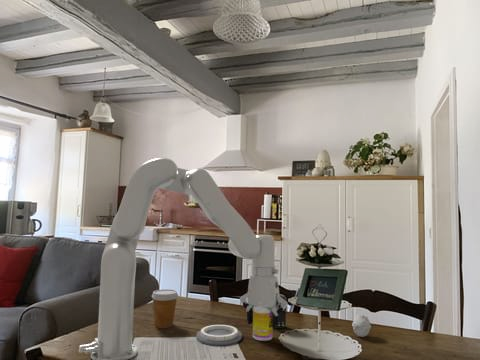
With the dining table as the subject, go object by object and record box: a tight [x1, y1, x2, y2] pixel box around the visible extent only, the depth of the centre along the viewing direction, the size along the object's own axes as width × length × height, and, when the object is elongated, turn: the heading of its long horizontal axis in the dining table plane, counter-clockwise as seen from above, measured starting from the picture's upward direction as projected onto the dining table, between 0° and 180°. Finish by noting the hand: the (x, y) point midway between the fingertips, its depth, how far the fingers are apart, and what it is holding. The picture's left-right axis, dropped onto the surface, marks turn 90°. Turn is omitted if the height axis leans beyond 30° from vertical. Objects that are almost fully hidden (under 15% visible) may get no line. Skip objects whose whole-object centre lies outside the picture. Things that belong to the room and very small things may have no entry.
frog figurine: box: [351, 313, 372, 338], centre depth 121 cm, size 6×7×7 cm
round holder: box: [196, 324, 243, 347], centre depth 117 cm, size 15×15×2 cm
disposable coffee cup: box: [151, 288, 179, 329], centre depth 129 cm, size 10×10×12 cm
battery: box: [273, 294, 288, 329], centre depth 129 cm, size 7×4×11 cm, turn 89°
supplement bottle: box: [252, 301, 274, 342], centre depth 118 cm, size 7×7×13 cm
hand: (262, 325), depth 118 cm, fingers open, 8 cm apart
